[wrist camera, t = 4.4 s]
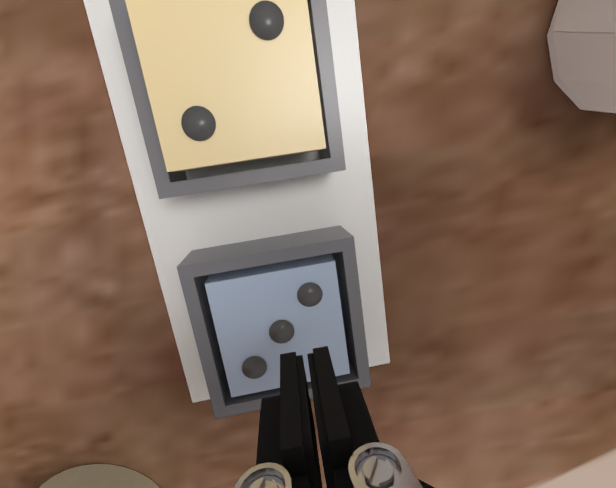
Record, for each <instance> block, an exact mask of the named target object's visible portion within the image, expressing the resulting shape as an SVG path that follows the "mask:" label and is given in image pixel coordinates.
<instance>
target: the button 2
mask: <svg viewBox="0 0 616 488" xmlns="http://www.w3.org/2000/svg"><path fill="white" fill-rule="evenodd" d="M125 2H126V6H127V10H128V14H129V18H130V22H131V27H132V31H133V35H134V39H135V43H136V47H137V51H138V55H139V59H140V63H141V67H142V72H143V76H144V80H145V84H146V88H147V92H148V96H149V100H150V104H151V108H152V112H153V116H154V121H155V125H156V129H157V133H158V137H159V141H160V145H161V149H162V153H163V157H164V161H165V165H166V170H167V172H175V171H187V170H193V169H200V168H207V167H213V166H220V165H227V164H233V163H240V162H247V161H253V160H260V159H267V158H273V157H280V156H286V155H293V154H300V153H306V152H313V151H318V150H322V149H325V148H326V142H325V135H324V127H323V119H322V111H321V104H320V96H319V88H318V80H317V73H316V65H315V57H314V49H313V42H312V34H311V26H310V18H309V11H308V3H307V0H125Z"/></svg>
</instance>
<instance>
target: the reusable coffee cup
mask: <svg viewBox="0 0 616 488" xmlns="http://www.w3.org/2000/svg"><path fill="white" fill-rule="evenodd" d="M39 488H159V486H158V485H156V484H155V483H154V482H153V481H152V480H151V479H149V478H148V477H146V476H144V475H142V474H141V473H139V472H137V471H134V470H131V469H129V468H126V467H122V466H116V465H111V464H90V465H82V466H78V467H74V468H71V469H67V470H65V471H63V472H61V473H58V474H56V475H54V476H53V477H51V478H50V479H49V480H47V481H46V482H44V483H43V484H42V485H41V486H40V487H39Z"/></svg>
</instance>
